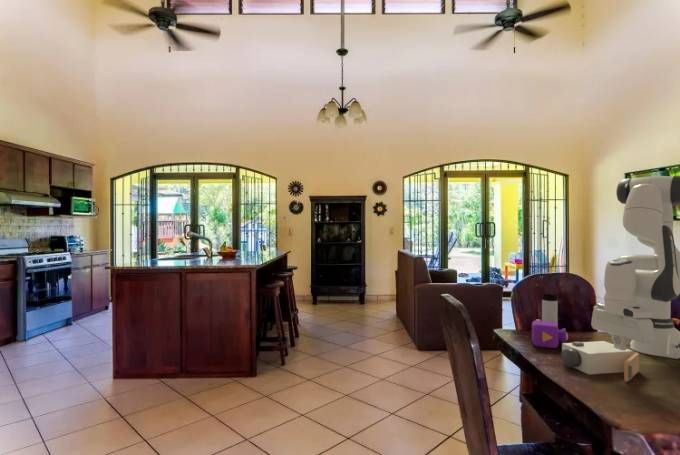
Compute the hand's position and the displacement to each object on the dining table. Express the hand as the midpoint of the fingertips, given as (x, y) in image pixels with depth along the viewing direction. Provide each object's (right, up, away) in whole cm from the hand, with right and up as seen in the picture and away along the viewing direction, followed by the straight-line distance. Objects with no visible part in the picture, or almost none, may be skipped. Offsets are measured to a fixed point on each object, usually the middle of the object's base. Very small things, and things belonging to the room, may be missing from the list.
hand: (620, 349), depth 129 cm
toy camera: (-6, -9, +33) cm, 35 cm away
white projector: (-4, -9, +8) cm, 13 cm away
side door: (+4, -8, -1) cm, 9 cm away
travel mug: (+2, -9, +47) cm, 48 cm away
